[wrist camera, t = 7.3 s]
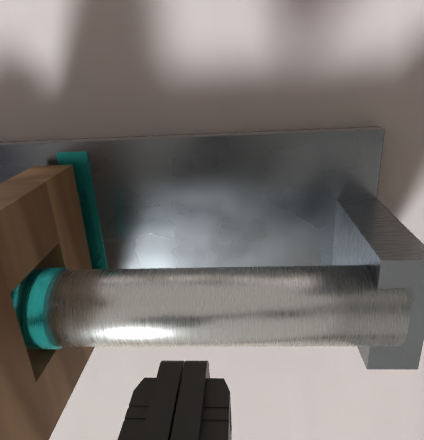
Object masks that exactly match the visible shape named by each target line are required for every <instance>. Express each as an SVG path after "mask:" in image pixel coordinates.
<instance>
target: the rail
mask: <svg viewBox="0 0 424 440" xmlns="http://www.w3.org/2000/svg"><path fill="white" fill-rule="evenodd" d="M384 130H385V129H383V128H381V127H357V128H333V129H309V130H284V131H260V132H236V133H212V134H188V135H164V136H139V137H115V138H91V139H67V140H43V141H19V142H0V183H2V182H4V181H6V180H8V179H10V178H12V177H14V176H16V175H18V174H20V173H21V172H23V171H25V170H27V169H29V168H31V167H33V166H49V165H73V170H74V176H75V181H76V186H77V191H78V196H79V202H80V207H81V212H82V217H83V223H84V228H85V233H86V238H87V243H88V249H89V254H90V259H91V264H92V269H80V270H69V269H67V268H64V267H60V268H34V269H33V270H32V271H31V272H30V273H29V274H28V275H27V276H26V277H25V278H24V279H23V280H22V281H21V282H20V283H19V284H18V285H17V286H16V287H15V288H14V289H13V290H12V292H11V293H10V295H11V298H12V302H13V305H14V309H15V312H16V315H17V319H18V322H19V326H20V329H21V333H22V336H23V339H24V343H25V346H26V349H61V348H62V347H214V346H357V347H358V349H359V352H360V354H361V356H362V359H363V361H364V363H365V366H366V368H367V369H418V366H419V361H420V356H421V350H422V345H423V340H424V244H423V243H422V242H421V241H420V240H419V239H418V238H416V237H415V236H414V235H413V234H412V233H411V232H410V231H409V230H408V229H407V228H406V227H405V226H404V225H403V224H402V223H401V222H400V221H399V220H398V219H397V218H396V217H395V216H394V215H393V214H392V213H391V212H390V211H389V210H388V209H387V208H386V207H385V206H384V205H383V204H382V203H381V202H380V201H379V200H378V199H377V190H378V181H379V173H380V164H381V156H382V147H383V139H384Z"/></svg>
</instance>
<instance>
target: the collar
mask: <svg viewBox="0 0 424 440" xmlns="http://www.w3.org/2000/svg"><path fill="white" fill-rule="evenodd" d="M60 267H64V268H67V269H69V270H80V269H92V264H91V259H90V254H89V249H88V243H87V238H86V233H85V228H84V223H83V217H82V212H81V207H80V202H79V196H78V191H77V186H76V181H75V176H74V170H73V165H49V166H33V167H31V168H29V169H27V170H25V171H23V172H21V173H20V174H18V175H16V176H14V177H12V178H10V179H8V180H6V181H4V182H2V183H0V440H49V438H50V436H51V434H52V432H53V430H54V428H55V426H56V424H57V422H58V420H59V418H60V416H61V414H62V412H63V410H64V408H65V406H66V404H67V402H68V400H69V398H70V396H71V394H72V392H73V389H74V387H75V385H76V383H77V381H78V379H79V377H80V375H81V373H82V371H83V369H84V367H85V365H86V363H87V361H88V359H89V357H90V355H91V353H92V351H93V349H94V347H62V348H61V349H26V346H25V343H24V339H23V336H22V333H21V329H20V326H19V322H18V319H17V315H16V312H15V309H14V305H13V302H12V298H11V295H10V293H11V292H12V290H13V289H14V288H15V287H16V286H17V285H18V284H19V283H20V282H21V281H22V280H23V279H24V278H25V277H26V276H27V275H28V274H29V273H30V272H31V271H32V270H33V269H34V268H60Z"/></svg>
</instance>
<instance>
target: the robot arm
mask: <svg viewBox="0 0 424 440" xmlns="http://www.w3.org/2000/svg"><path fill="white" fill-rule="evenodd" d="M231 431H232V425H231V404H230V391H229V389H228V387H227V385H226V382H225V380H224V379H219V378H210V375H209V363H208V361H161V363H160V366H159V370H158V374H157V378H144V379H143V380H142V381H141V382H140V384H139V385H138V386H137V387H136V389H135V390H134V391H133V395H132V398H131V401H130V404H129V408H128V410H127V413H126V416H125V421H124V422H123V425H122V428H121V431H120V434H119V437H118V440H231Z"/></svg>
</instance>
